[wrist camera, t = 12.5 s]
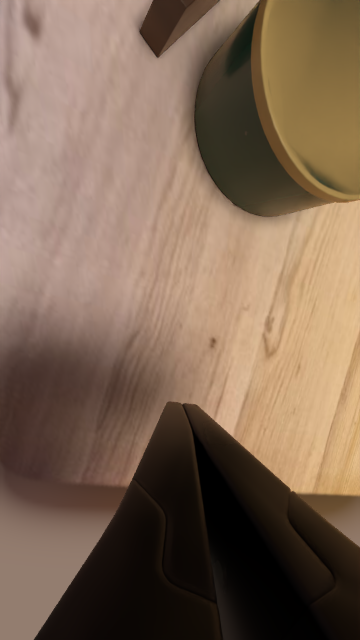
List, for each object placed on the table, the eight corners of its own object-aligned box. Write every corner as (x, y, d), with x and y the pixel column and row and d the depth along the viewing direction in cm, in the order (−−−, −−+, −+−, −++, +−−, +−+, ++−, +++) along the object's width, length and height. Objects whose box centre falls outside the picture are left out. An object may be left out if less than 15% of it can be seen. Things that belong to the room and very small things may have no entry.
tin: (229, 245, 23) (303, 233, 17) (162, 53, 20) (224, -53, 13) (343, 187, 27) (437, 161, 21) (304, 18, 23) (404, -76, 17)
